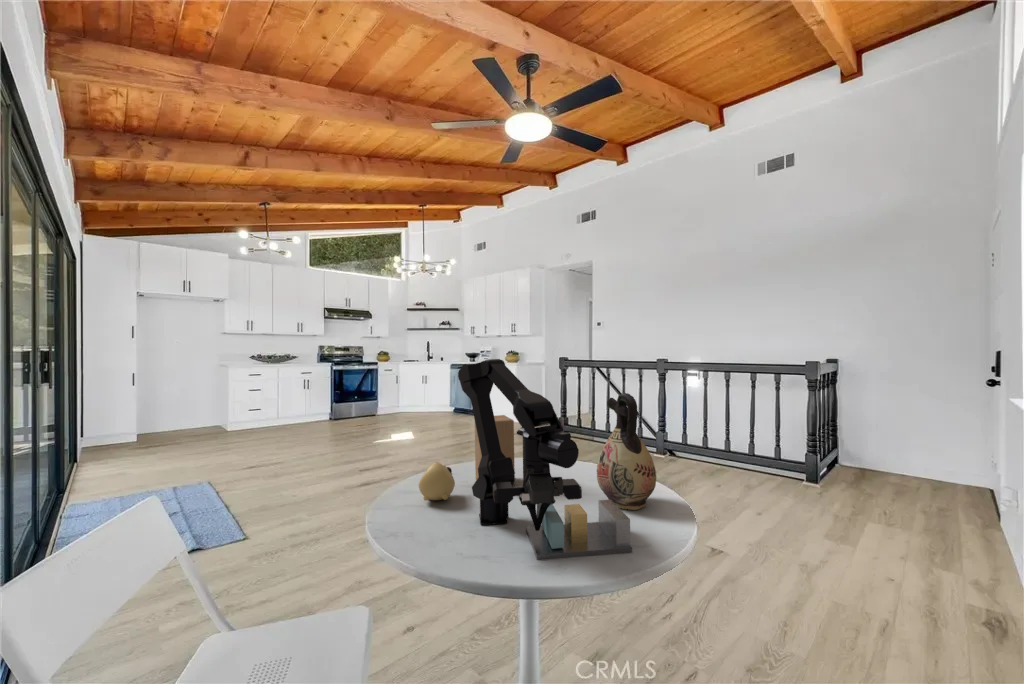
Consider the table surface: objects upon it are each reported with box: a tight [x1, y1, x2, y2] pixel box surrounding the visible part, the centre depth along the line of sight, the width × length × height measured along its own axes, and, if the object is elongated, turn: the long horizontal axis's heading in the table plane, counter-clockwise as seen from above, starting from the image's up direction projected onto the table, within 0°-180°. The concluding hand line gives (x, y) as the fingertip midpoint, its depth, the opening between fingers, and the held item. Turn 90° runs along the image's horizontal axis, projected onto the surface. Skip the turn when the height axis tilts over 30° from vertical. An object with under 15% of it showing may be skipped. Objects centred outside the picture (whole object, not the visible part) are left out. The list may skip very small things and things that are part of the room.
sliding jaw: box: [541, 504, 565, 549], centre depth 102 cm, size 2×11×5 cm, turn 7°
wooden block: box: [474, 414, 516, 487], centre depth 144 cm, size 10×10×20 cm
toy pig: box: [418, 461, 456, 502], centre depth 130 cm, size 10×12×11 cm
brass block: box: [563, 503, 588, 543], centre depth 103 cm, size 4×6×6 cm, turn 7°
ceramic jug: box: [596, 392, 657, 511], centre depth 124 cm, size 17×15×30 cm
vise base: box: [525, 499, 633, 561], centre depth 103 cm, size 20×14×6 cm
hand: (537, 530), depth 101 cm, fingers closed
